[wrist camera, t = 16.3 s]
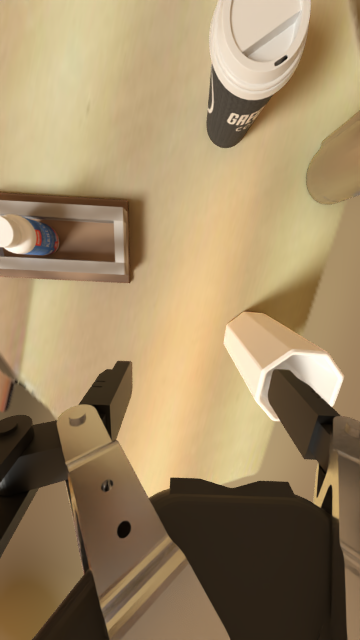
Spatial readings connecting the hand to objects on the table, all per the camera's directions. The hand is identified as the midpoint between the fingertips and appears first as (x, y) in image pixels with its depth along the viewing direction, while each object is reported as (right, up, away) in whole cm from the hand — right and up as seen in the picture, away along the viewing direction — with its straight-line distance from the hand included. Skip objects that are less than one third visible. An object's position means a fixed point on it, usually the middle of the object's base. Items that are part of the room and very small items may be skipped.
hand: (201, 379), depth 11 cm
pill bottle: (-25, +18, +25) cm, 40 cm away
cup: (+14, 0, +31) cm, 34 cm away
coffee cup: (+6, +35, +21) cm, 41 cm away
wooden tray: (-23, +18, +25) cm, 38 cm away
